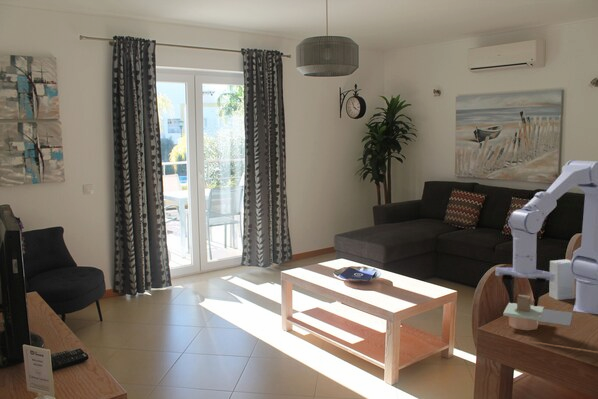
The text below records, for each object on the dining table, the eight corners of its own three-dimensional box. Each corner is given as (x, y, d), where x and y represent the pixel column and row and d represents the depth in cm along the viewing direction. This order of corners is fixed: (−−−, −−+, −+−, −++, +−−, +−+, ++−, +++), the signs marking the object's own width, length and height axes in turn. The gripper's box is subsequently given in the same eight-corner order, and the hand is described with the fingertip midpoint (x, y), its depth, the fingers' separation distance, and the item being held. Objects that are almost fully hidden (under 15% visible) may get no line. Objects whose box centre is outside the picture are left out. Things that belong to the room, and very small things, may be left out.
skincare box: (565, 295, 166) (566, 258, 165) (575, 300, 162) (576, 261, 160) (548, 297, 165) (548, 260, 164) (557, 301, 161) (558, 263, 159)
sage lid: (508, 305, 148) (509, 290, 147) (543, 309, 143) (544, 294, 143) (503, 315, 140) (503, 299, 140) (539, 320, 136) (540, 304, 135)
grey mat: (531, 309, 156) (531, 307, 155) (572, 314, 150) (572, 312, 150) (525, 321, 146) (525, 319, 146) (570, 327, 141) (570, 325, 140)
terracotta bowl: (511, 320, 147) (512, 306, 147) (539, 324, 144) (539, 310, 143) (507, 329, 141) (507, 314, 141) (535, 333, 138) (536, 318, 137)
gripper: (493, 255, 140) (492, 304, 142) (553, 260, 133) (551, 312, 134) (498, 249, 146) (497, 296, 148) (555, 254, 139) (554, 303, 140)
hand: (523, 303), depth 142 cm, fingers open, 5 cm apart
